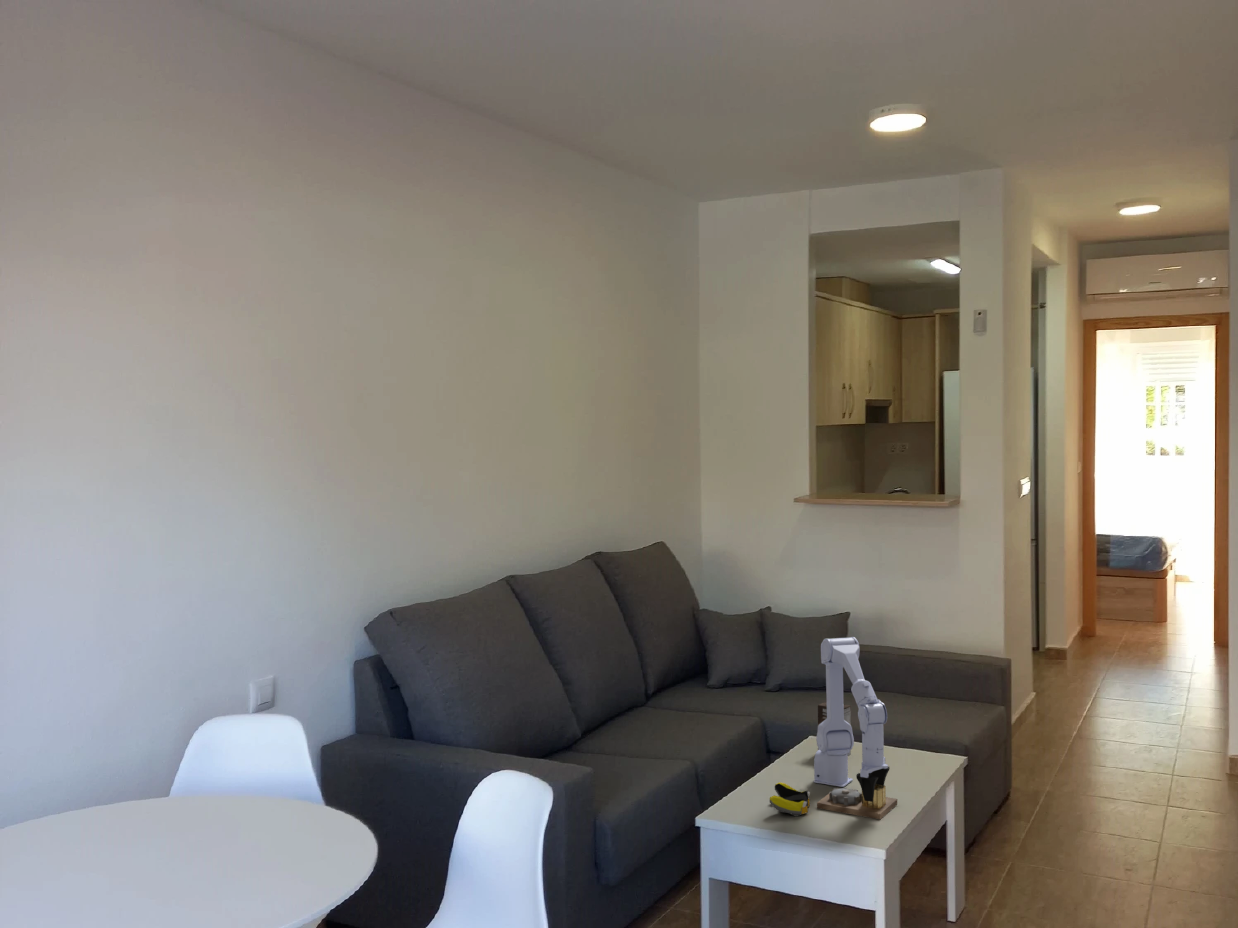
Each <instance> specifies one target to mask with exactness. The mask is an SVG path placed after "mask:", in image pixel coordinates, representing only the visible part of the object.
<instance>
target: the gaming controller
mask: <svg viewBox="0 0 1238 928" xmlns="http://www.w3.org/2000/svg"><path fill="white" fill-rule="evenodd" d="M774 790H775V792H776V794H777V795H771V796H770V797H769V804H770V805H771V806H772V807H773V808H774V809H775V810H776V811H778V812H780V813H784V814H790V815H791V814H792V816H793V815H794V817H798V816H797V815H799V816H801V815H804V814H807V813H808V807H810V806H811V805H810V804H811V803H810V795H811V791H808V790H803V791H799V790H797V789H795V788H793V787H792V786H790V785H788V784H786V783H785V782H779V781H778V783H775V785H774ZM800 814H801V815H800Z"/></svg>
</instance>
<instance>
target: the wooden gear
mask: <svg viewBox="0 0 1238 928" xmlns="http://www.w3.org/2000/svg"><path fill="white" fill-rule="evenodd" d="M886 791H887V790H886V785H885V784H884V785H879V784H876V785H875V789H874V798H873V801H872V802H870V801H865V800H864V796H863V792H862V791H861V793H862V806H866V807H868V808H877V809H881V808H882V807H884V806H885V804H886V797H887V796H886V795H887V794H886Z"/></svg>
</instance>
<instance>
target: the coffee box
mask: <svg viewBox="0 0 1238 928" xmlns="http://www.w3.org/2000/svg"><path fill="white" fill-rule="evenodd" d="M851 707H852V706H851V705H849V704H844V720H845V721H846V722H848V723H849V724H850V725H851V721H852V720H851V717H852V716H851V715H852V713H851V712H852V709H851ZM826 719H827V700H826V701H824V702H821V703H819V704H817V726H818V725H819V724H820V723H822V722H823V721H824V720H826ZM851 726H852V725H851ZM818 750H819V748H818V747H817V751H818ZM851 753H852V749H851V750H850V753H848V756H850V755H851Z"/></svg>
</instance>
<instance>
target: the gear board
mask: <svg viewBox="0 0 1238 928" xmlns="http://www.w3.org/2000/svg"><path fill="white" fill-rule="evenodd" d="M897 805H898V798H894V797H888V796H886V804H885V806H884V807H882V808H881V809H877V808H868V807H866V806H862V792H859V790H858V789H852V788H847V787H841V788H832V790H831V791H829V792H828V794H826V795H825V796H824V797H823V798H821V799H820V800H819V801H817V802H816V808H817V809H820V810H827V811H831V812H837V813H842V814H843V813H844V814H849V815H854V816H858V817H865V818H871V819H876V820H882V819H883V818H884V817H885V816H886V815H888V813H890V811H891V810H893V809H894V808H895V807H896V806H897Z"/></svg>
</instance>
